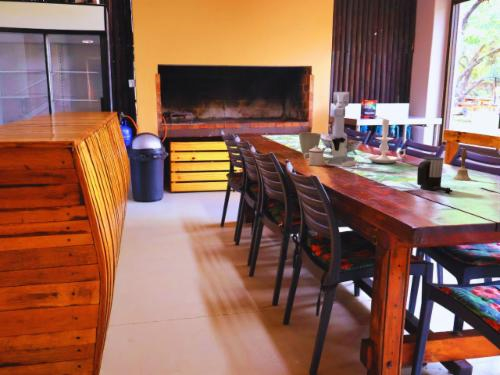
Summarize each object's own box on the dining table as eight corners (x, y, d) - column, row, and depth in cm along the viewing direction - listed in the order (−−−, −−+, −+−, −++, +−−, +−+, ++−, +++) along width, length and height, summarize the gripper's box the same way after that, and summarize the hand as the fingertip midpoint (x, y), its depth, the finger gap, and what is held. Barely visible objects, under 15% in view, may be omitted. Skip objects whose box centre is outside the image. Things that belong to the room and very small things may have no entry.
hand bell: (460, 181, 233) (464, 150, 229) (449, 178, 240) (452, 148, 237) (474, 180, 235) (477, 149, 232) (463, 177, 243) (466, 147, 239)
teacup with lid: (322, 163, 286) (323, 145, 284) (323, 166, 277) (324, 146, 275) (303, 163, 287) (304, 144, 285) (303, 165, 278) (304, 146, 276)
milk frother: (424, 186, 221) (426, 155, 218) (458, 190, 211) (462, 158, 208) (413, 190, 210) (415, 158, 207) (449, 195, 200) (452, 162, 197)
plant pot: (296, 158, 310) (296, 134, 307) (300, 155, 324) (301, 132, 321) (318, 159, 306) (319, 135, 302) (321, 156, 320) (322, 133, 316)
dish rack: (339, 162, 292) (340, 155, 291) (356, 164, 283) (356, 157, 282) (326, 164, 282) (326, 157, 282) (342, 167, 274) (343, 159, 273)
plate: (333, 154, 282) (334, 141, 280) (344, 156, 276) (345, 142, 274) (331, 154, 280) (332, 141, 279) (342, 156, 275) (343, 143, 273)
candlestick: (411, 165, 282) (415, 119, 276) (372, 165, 281) (375, 119, 275) (399, 160, 302) (402, 117, 296) (362, 160, 301) (364, 117, 295)
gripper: (337, 129, 267) (336, 152, 270) (351, 127, 277) (350, 150, 280) (327, 128, 272) (326, 151, 275) (341, 126, 282) (341, 148, 285)
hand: (338, 150), depth 278 cm, fingers closed on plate, 2 cm apart
